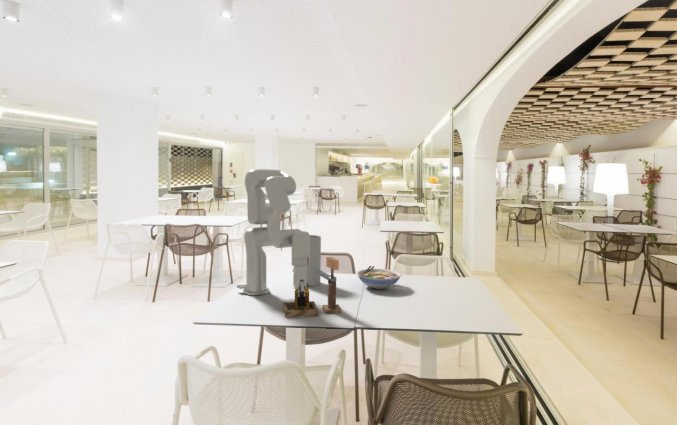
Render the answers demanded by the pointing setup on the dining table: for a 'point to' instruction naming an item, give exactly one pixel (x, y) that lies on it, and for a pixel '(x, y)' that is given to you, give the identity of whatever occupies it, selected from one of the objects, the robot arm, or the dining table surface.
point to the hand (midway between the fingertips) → (300, 303)
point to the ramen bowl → (378, 277)
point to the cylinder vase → (314, 261)
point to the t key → (333, 265)
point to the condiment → (305, 300)
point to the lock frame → (329, 308)
